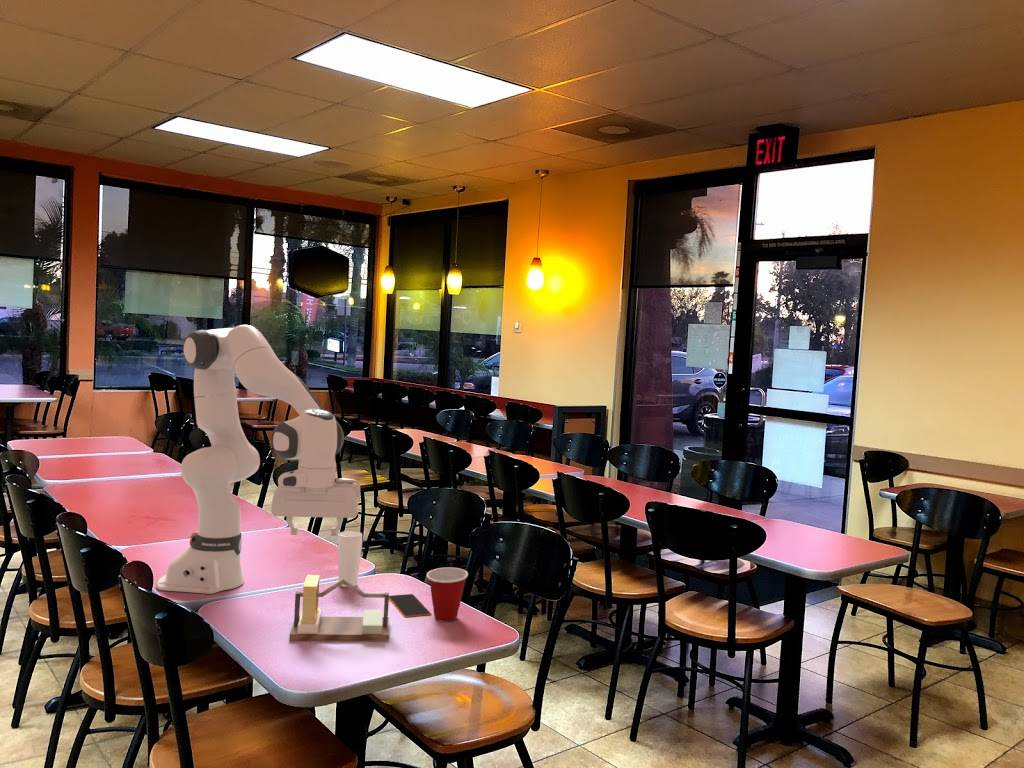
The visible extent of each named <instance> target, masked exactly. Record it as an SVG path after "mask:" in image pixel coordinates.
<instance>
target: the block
mask: <svg viewBox="0 0 1024 768" xmlns="http://www.w3.org/2000/svg"><path fill="white" fill-rule="evenodd" d="M299 616H300V619H299V623H298V630H297V634H317V633H318V629H319V624H320V620H321V617H322V609H320V608H319V613H318V617H317V621H316V624H301V617H302V612H300V615H299Z"/></svg>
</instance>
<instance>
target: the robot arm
mask: <svg viewBox="0 0 1024 768" xmlns="http://www.w3.org/2000/svg"><path fill="white" fill-rule="evenodd" d="M182 346H183V347H182V352H183V358H184V360H185V361H186V363H187V364H188V365H189V367H190V368H192V369H194V371H193V373H194V374H193V397H194V410H195V420H196V425H197V427H198V428H199V429H200V430H201V431H203V432H204V433H205V434H206V435H207V437H208V439H209V442H210V444H211V445H210V446H208V447H201V448H199V449H196V450H195V451H192V452H191V453H189V454H187V455H186V456H185V457H184V458H183V459H182V462H181V465H180V474H181V478H182V479H183V481H184V483H185V484H186V485H188V486H189V487H190V488H191V489H192V491H193V493H194V495H195V498H196V503H197V507H198V508H197V509H198V514H197V515H198V516H197V517H198V519H197V520H198V521H197V523H198V529H197V530H194V531H193V532H192V533H191V536H190V537H189V547H188V548H186V549H185V550H184V551H182V552H181V553H179V554H178V555H176V556H175V557H174V558H172V560H171V561H170V563H169V564H168V566H167V569H166V574H164V575H162V576H161V577H160V578H159V579H158V580H157V582H156V583H157V584H156V588H157V590H159V591H168V592H183V593H194V594H195V593H196V594H206V595H207V594H208V595H209V594H210V595H211V594H216V593H218V592H223V591H227V590H232V589H235V588H236V589H237V588H239V587H240V586H243V584H244V582H245V581H244V580H245V579H244V577H243V571H242V565H241V551H242V538H243V537H242V532H241V515H242V508H241V505H240V503H239V501H237V500H235V499H234V497H233V494H232V490H231V484H232V483H236V482H237V483H238V482H241V481H242V482H243V481H244V480H246V479H248V478H249V477H251V476H252V475H254V474H256V472H257V471H258V470H259V468H260V464H261V459H260V453H259V451H258V450H257V449H256V447H254V446H253V445H252V444H251V443H250V442H249V440H248V439H247V437H246V434H245V433H244V429H243V427H242V425H241V419H240V414H239V407H238V398H237V389H236V382H235V376H236V378H237V380H238V381H239V383H240V384H241V386H243V387H244V388H245V389H246V390H247V391H248V392H251V393H253V394H256V395H259V396H264V397H269V398H273V399H277V400H280V401H283V402H285V403H287V404H289V405H290V406H292V407H293V409H294V410H295V411H296V412H297V414H298V416H297V417H295V418H293V419H290V420H285V421H282V422H279V423H277V425H276V426H275V428H274V429H273V432H272V435H271V447H272V450H273V453H275V454H276V455H277V456H278V457H279V458H280V459H283V460H288V461H293V460H298V464H297V465H298V466H297V469H295V470H292V471H287V472H284V473H282V474H280V476H278V479H277V484H278V486H277V487H276V489H275V491H273V492H274V493H273V495H272V502H271V508H270V510H271V511H270V512H271V514H272V515H273V516H274V517H286V518H285V519H286V521H285V522H286V523H287V525H288V526H289V528H290V536H298V533H299V532H298V531H299V530H298V529H299V528H298V527H299V526H296V525H295V524H294V523H293V520H294V518H295V517H297V518H298V517H299V518H301V517H303V518H304V517H305V518H336V522H337V524H335V526H332V527H331V529H330V531H331V532H330V536H331V537H337V536H338V535H339V533H338V531H339V530H338V529H339V528H340V527H341V524H343V521H344V518H345V519H347V518H348V519H349V518H351V519H354V518H356V517H357V515H358V514H359V503H358V497H359V496H360V495H361V484H360V483H359V481H358V480H355V479H354V478H339V477H338V478H337V476H336V472H337V463H336V459H335V458H336V456H337V455H338V453H339V452H340V451H341V450H342V447H343V446H344V442H345V434H344V431H343V430H344V429H343V427H342V426H341V424H340V423H339V422H338V421H337V419H336V416H335V415H334V414H333V413H332V412H330V411H328V410H325V408H324V406H323V405H322V404H321V402H319V400H318V399H317V398H316V396H315V395H314V394H313V392H312V391H311V389H309V387H308V386H307V385H306V383H305V382H304V381H303V380H302V378H300V376H298V375H296V373H293V371H291V370H290V369H289V368H288V367H286V365H285V364H283V362H282V361H281V360H280V359H279V358H278V356H277V355H276V354H275V351H274V349H273V348H272V346H271V345H270V344H269V342H268V340H267V339H266V338H265V336H264V335H263V333H262V332H261V331H260V330H258V329H257V328H256V327H254V326H253V325H248V324H239V325H237V326H235V327H223V328H215V329H208V330H207V329H199V330H194V331H191V332H189V333H188V334H187V336H186V337H185V338H184V341H183V345H182Z"/></svg>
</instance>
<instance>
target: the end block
mask: <svg viewBox="0 0 1024 768" xmlns="http://www.w3.org/2000/svg"><path fill="white" fill-rule="evenodd" d="M362 617H363V628H362V634H382V617H383V609H364V610H363V616H362Z"/></svg>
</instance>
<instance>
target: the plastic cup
mask: <svg viewBox="0 0 1024 768" xmlns="http://www.w3.org/2000/svg"><path fill="white" fill-rule="evenodd" d="M468 576H469V572H468V571H467V570H466V569H462V568H459V567H448V566H447V567H439V568H435V569H431V570H429V571H428V572H427V573H426V578H427V579H428V582H429V587H430V593H431V603H432V608H433V617H434V619H435V620H437V621H441V622H453V621H455V620H457V617H458V613H459V609H460V607H461V600H462V595H463V592H464V588H465V583H466V581H467V578H468Z"/></svg>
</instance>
